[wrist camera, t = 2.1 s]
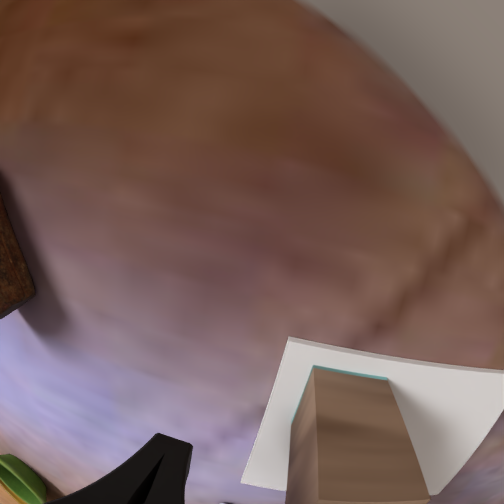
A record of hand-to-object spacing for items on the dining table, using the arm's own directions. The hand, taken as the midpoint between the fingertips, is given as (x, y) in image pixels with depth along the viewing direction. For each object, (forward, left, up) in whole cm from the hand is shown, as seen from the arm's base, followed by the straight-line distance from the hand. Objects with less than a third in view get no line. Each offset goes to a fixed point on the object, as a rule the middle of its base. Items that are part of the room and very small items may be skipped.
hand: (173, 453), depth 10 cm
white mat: (-3, -11, -6) cm, 13 cm away
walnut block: (0, -7, -6) cm, 9 cm away
